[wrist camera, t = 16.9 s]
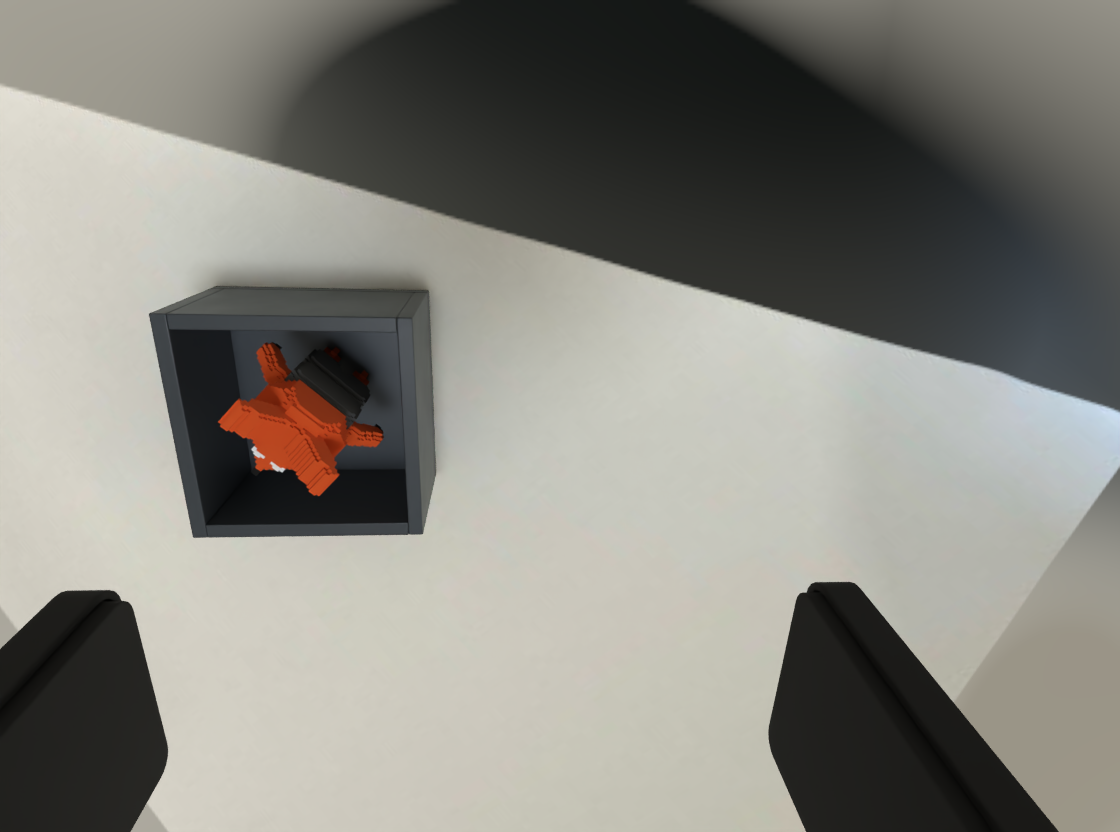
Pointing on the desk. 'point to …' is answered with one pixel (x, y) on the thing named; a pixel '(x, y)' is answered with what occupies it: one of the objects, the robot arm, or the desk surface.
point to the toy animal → (304, 416)
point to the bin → (298, 327)
